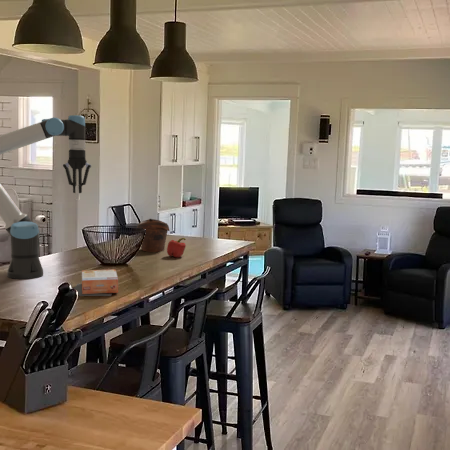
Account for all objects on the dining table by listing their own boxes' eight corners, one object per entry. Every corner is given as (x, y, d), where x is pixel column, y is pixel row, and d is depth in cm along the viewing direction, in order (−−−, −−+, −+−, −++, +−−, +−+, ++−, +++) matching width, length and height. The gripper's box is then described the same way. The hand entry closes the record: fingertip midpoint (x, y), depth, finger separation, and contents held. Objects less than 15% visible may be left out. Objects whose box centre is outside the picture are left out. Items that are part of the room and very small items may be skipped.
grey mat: (69, 295, 242) (69, 294, 242) (78, 284, 262) (78, 283, 262) (111, 295, 243) (111, 294, 243) (116, 284, 263) (116, 283, 263)
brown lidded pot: (151, 246, 369) (151, 215, 367) (176, 250, 357) (176, 219, 354) (128, 250, 356) (128, 218, 353) (153, 254, 343) (153, 221, 341)
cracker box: (81, 284, 262) (81, 294, 242) (81, 270, 262) (81, 279, 241) (115, 283, 265) (118, 293, 245) (115, 269, 265) (118, 278, 245)
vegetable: (181, 254, 342) (181, 236, 341) (190, 257, 334) (190, 238, 332) (163, 256, 336) (163, 237, 335) (172, 259, 328) (172, 240, 327)
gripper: (61, 149, 287) (61, 200, 289) (90, 149, 287) (90, 201, 290) (64, 149, 294) (64, 199, 297) (92, 149, 295) (92, 199, 298)
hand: (77, 200), depth 293 cm, fingers closed
